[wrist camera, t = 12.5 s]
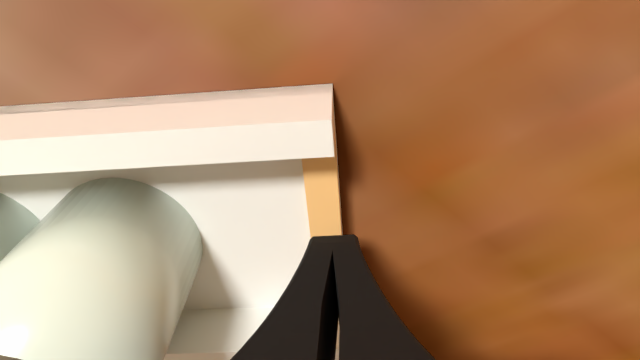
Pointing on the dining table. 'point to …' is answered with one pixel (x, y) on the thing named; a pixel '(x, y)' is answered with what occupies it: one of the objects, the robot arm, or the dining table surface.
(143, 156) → the tray
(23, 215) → the stocked jar
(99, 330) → the jar
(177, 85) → the dining table surface
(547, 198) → the dining table surface
